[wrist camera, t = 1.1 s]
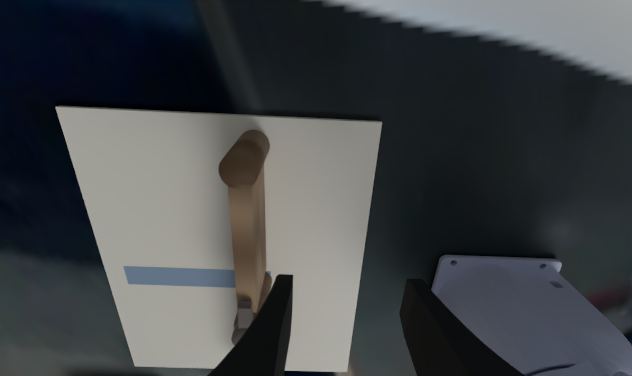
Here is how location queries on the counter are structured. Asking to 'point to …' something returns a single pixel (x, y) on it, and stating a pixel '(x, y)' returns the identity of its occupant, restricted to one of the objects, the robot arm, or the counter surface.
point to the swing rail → (247, 221)
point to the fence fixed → (261, 295)
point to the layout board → (223, 226)
